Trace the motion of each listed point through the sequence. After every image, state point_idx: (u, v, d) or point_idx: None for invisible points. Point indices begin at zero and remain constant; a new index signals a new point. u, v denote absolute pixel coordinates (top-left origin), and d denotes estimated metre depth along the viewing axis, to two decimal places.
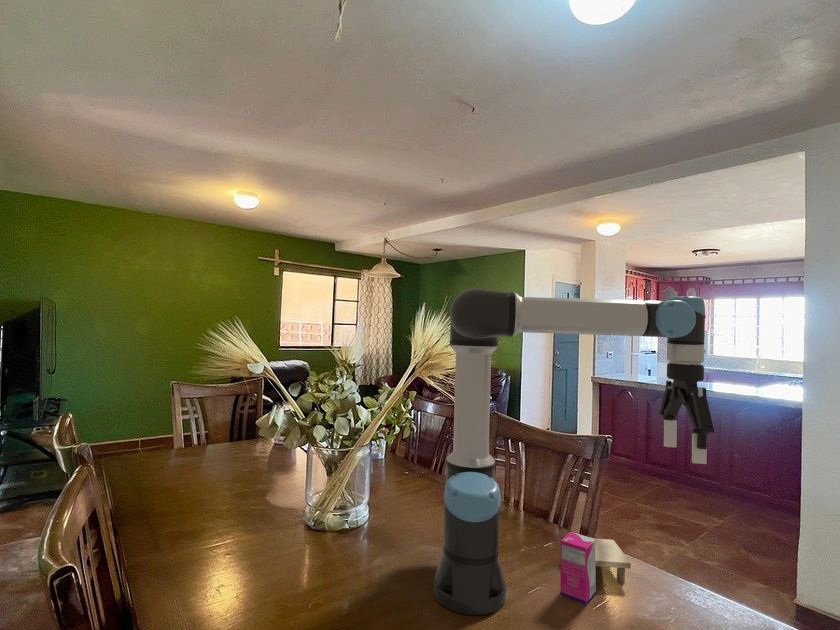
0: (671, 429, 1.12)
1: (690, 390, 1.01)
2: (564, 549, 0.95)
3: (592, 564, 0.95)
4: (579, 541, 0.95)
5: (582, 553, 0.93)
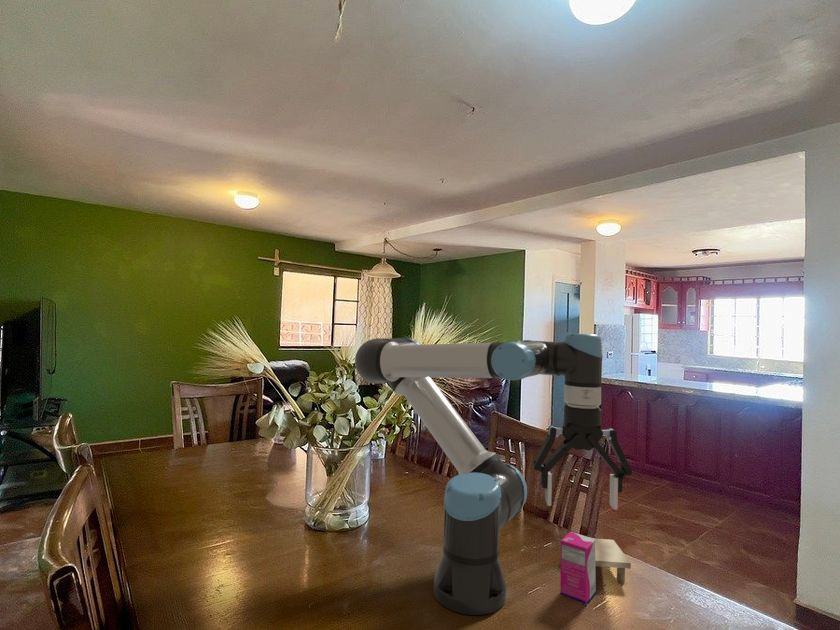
0: (612, 486, 0.96)
1: None
2: (564, 549, 0.95)
3: (592, 564, 0.95)
4: (579, 541, 0.95)
5: (582, 553, 0.93)
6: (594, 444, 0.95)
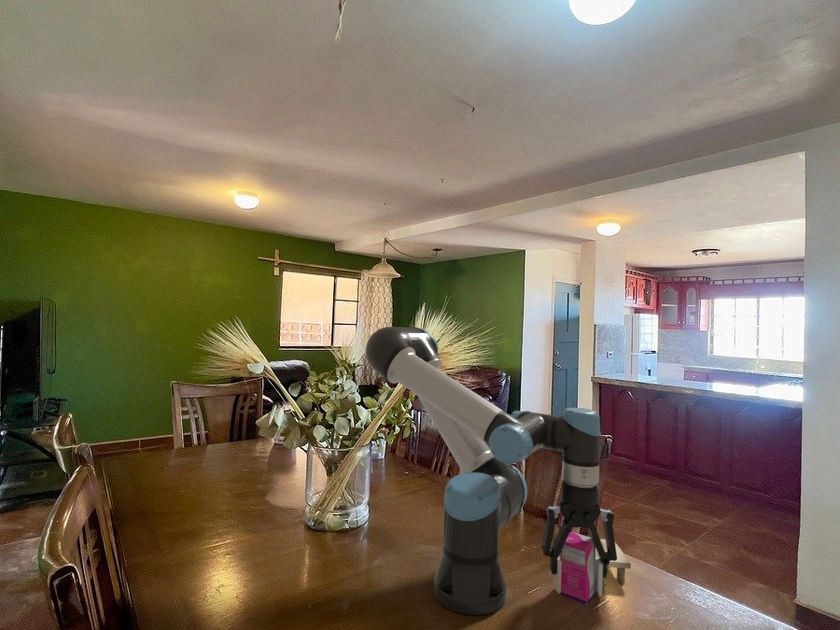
0: (597, 571, 0.96)
1: None
2: (565, 548, 0.95)
3: (592, 564, 0.95)
4: (579, 541, 0.95)
5: (582, 553, 0.93)
6: (589, 524, 0.95)
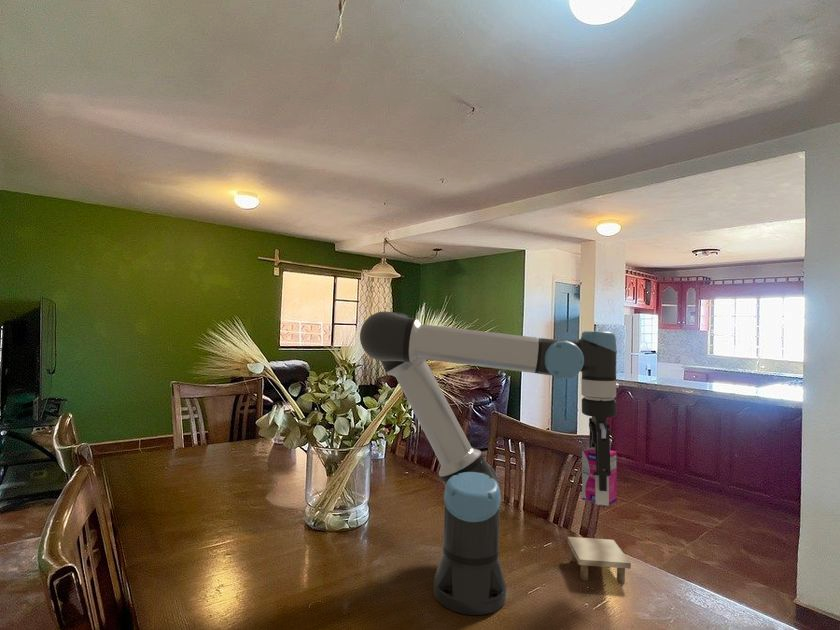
0: None
1: (598, 428, 1.01)
2: None
3: None
4: None
5: (615, 457, 1.03)
6: None
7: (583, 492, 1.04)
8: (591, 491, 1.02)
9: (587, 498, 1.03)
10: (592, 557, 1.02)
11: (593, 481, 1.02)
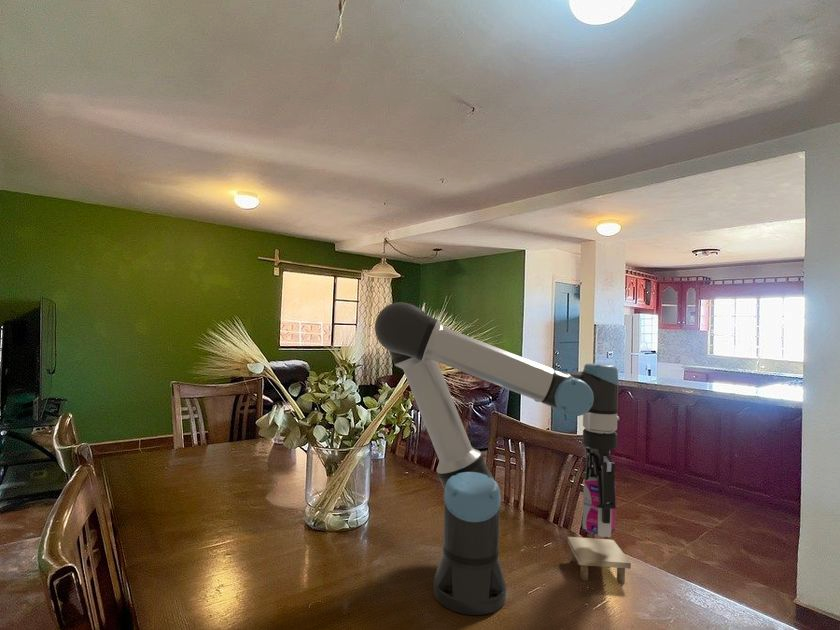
0: None
1: (601, 461, 1.02)
2: None
3: None
4: None
5: None
6: None
7: (584, 523, 1.05)
8: (593, 522, 1.04)
9: (588, 529, 1.05)
10: (592, 557, 1.02)
11: (594, 513, 1.04)
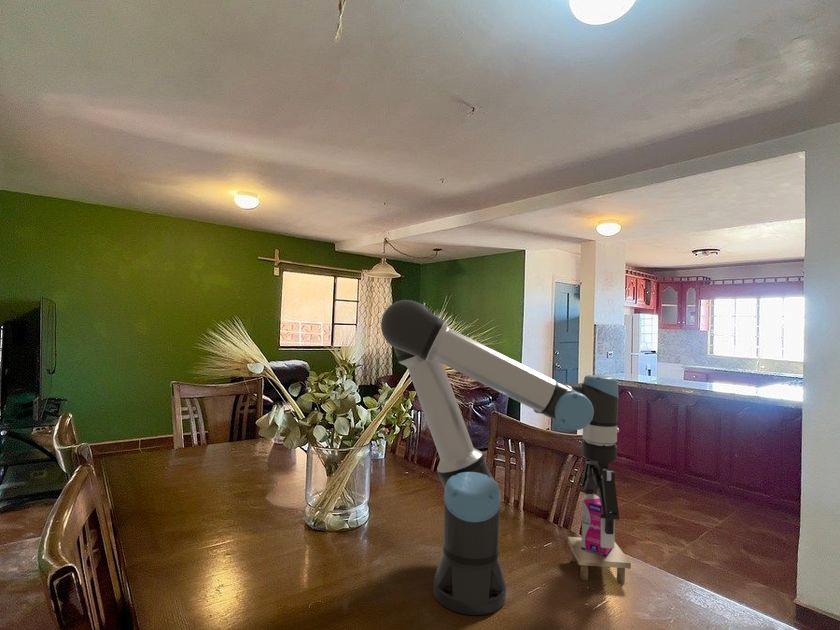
0: None
1: (601, 472, 1.02)
2: None
3: None
4: None
5: None
6: None
7: (583, 542, 1.05)
8: (591, 541, 1.04)
9: (587, 548, 1.05)
10: (592, 557, 1.02)
11: (593, 532, 1.04)
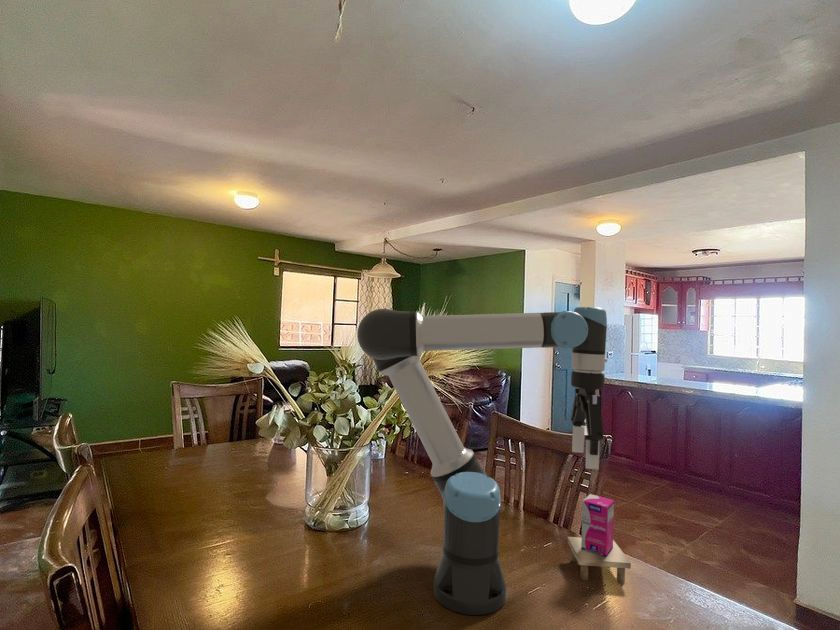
0: (579, 435, 1.15)
1: (588, 398, 1.05)
2: (608, 512, 1.03)
3: None
4: (602, 500, 1.06)
5: (613, 506, 1.06)
6: None
7: (583, 542, 1.05)
8: (591, 541, 1.04)
9: (587, 548, 1.05)
10: (592, 557, 1.02)
11: (593, 532, 1.04)
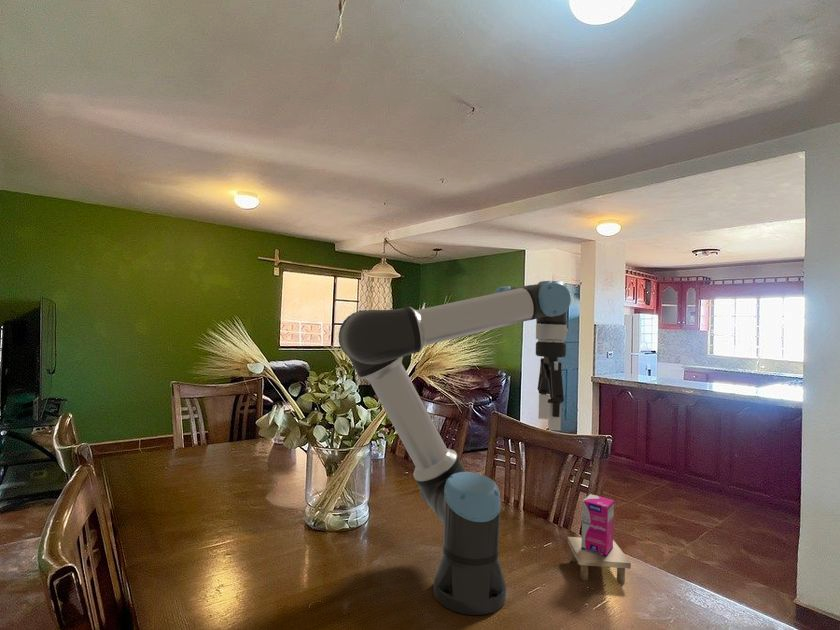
0: (544, 402, 1.23)
1: None
2: (608, 512, 1.03)
3: None
4: (602, 500, 1.06)
5: (613, 506, 1.06)
6: None
7: (583, 542, 1.05)
8: (591, 541, 1.04)
9: (587, 548, 1.05)
10: (592, 557, 1.02)
11: (593, 532, 1.04)
